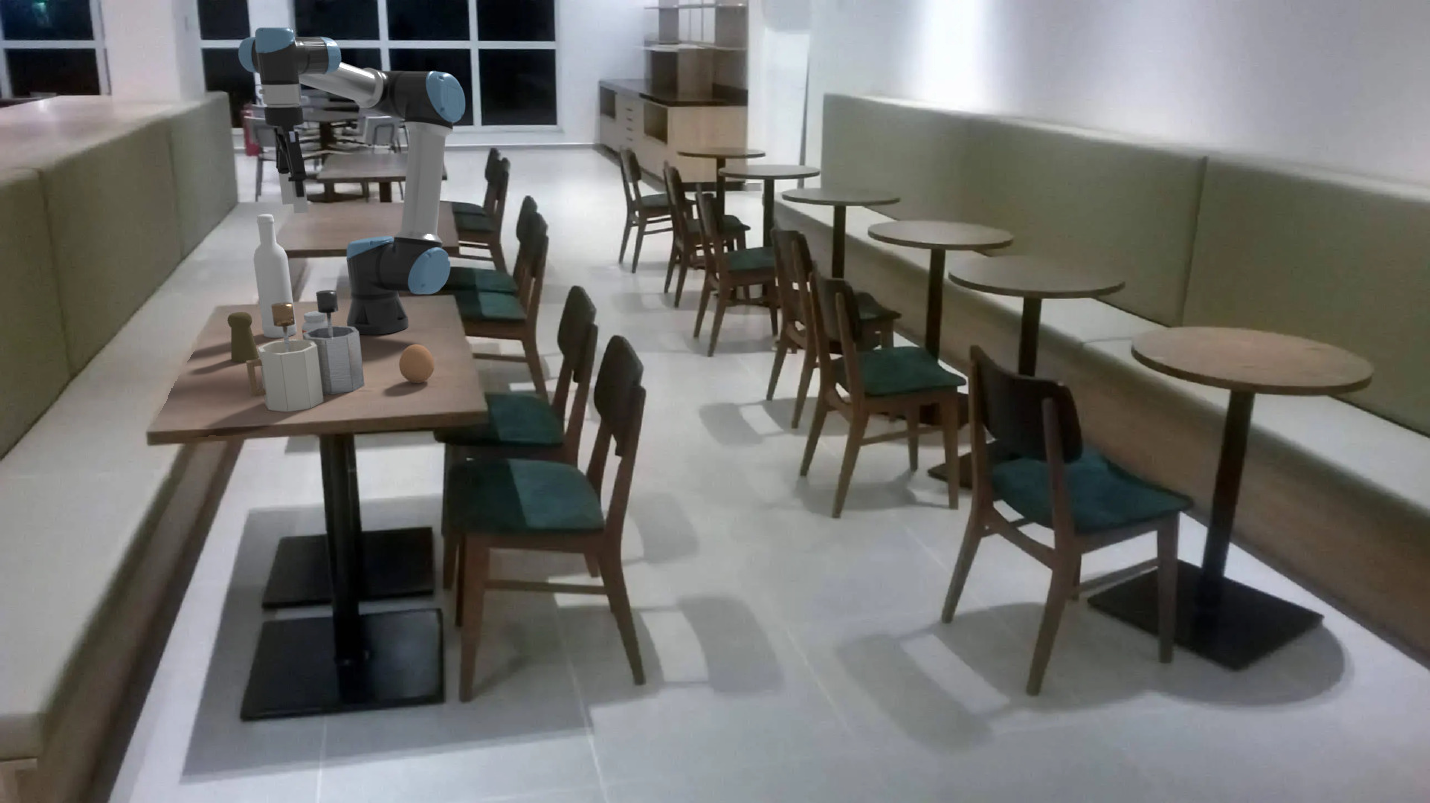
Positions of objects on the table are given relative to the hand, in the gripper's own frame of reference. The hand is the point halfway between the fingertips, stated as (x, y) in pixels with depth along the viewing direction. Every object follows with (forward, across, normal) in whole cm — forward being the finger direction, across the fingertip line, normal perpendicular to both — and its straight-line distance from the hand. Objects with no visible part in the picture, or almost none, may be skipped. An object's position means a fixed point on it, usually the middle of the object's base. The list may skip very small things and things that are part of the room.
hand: (295, 208), depth 235 cm
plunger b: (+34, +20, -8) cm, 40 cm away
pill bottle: (+37, -10, +3) cm, 38 cm away
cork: (+37, -19, -12) cm, 43 cm away
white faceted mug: (+37, +20, -9) cm, 43 cm away
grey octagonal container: (+37, +13, +1) cm, 39 cm away
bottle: (+37, -38, -1) cm, 53 cm away
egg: (+37, +19, +18) cm, 45 cm away
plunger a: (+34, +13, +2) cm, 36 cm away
